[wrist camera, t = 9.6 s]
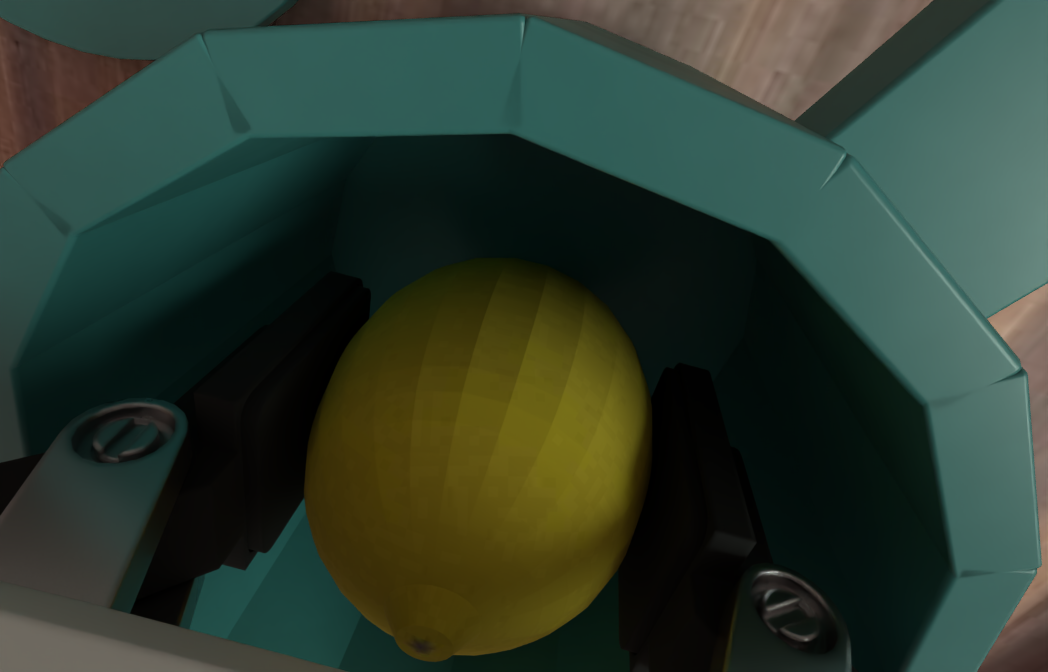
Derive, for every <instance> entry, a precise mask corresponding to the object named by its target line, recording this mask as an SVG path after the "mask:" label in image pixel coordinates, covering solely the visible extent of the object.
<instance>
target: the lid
mask: <svg viewBox="0 0 1048 672" xmlns="http://www.w3.org/2000/svg"><path fill="white" fill-rule="evenodd" d="M297 1H298V0H0V17H1V18H3V19H4V20H6V21H8V22H10V23H12V24H14V25H16V26H18V27H20V28H23V29H25V30H27V31H29V32H31V33H33V34H35V35H37V36H40V37H42V38H44V39H46V40H49V41H52V42H55V43H58V44H61V45H64V46H67V47H70V48H73V49H76V50H79V51H82V52H85V53H91V54H96V55H101V56H106V57H112V58H117V59H130V60H157V59H158V58H160V57H161V56H163V55H164V54H166V53H167V52H169V51H170V50H172V49H173V48H175V47H176V46H177V45H179V44H180V43H182V42H183V41H185V40H186V39H188V38H189V37H191V36H192V35H194V34H195V33H204V32H205V31H207V30H208V29H224V28H244V27H263V26H268V25H270V24H271V23H272V22H273V21H275V20H276V19H277V18H279V17H280V16H281V15H282V14H284V13H285V12H286V11H288V10H289V9H290V8H292V7H293V6H294V5H295V3H296V2H297Z"/></svg>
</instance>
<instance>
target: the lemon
mask: <svg viewBox="0 0 1048 672" xmlns="http://www.w3.org/2000/svg"><path fill="white" fill-rule="evenodd" d="M652 457H653V450H652V404H651V397H650V393H649V389H648V385H647V382H646V379H645V376H644V373H643V370H642V367H641V364H640V361H639V358H638V355H637V352H636V350H635V347H634V345H633V343H632V341H631V339H630V338H629V336H628V335H627V334H626V332H625V331H624V329H623V328H622V326H621V325H620V323H619V322H618V320H617V319H616V317H615V316H614V315H613V313H612V312H611V310H610V309H609V307H608V306H607V305H606V304H605V303H604V302H602V301H601V300H600V299H599V298H598V297H597V296H595V295H594V294H593V293H592V292H591V291H590V290H588V289H587V288H586V287H585V286H584V285H583V284H582V283H580V282H579V281H577V280H575V279H573V278H571V277H569V276H567V275H565V274H563V273H561V272H559V271H557V270H555V269H553V268H551V267H549V266H547V265H543V264H539V263H534V262H530V261H526V260H522V259H518V258H474V259H470V260H466V261H463V262H459V263H455V264H451V265H447V266H443V267H441V268H438V269H435V270H434V271H432V272H430V273H428V274H427V275H425V276H423V277H421V278H419V279H418V280H416V281H414V282H412V283H411V284H409V285H407V286H405V287H404V288H402V289H401V290H399V291H398V292H396V293H395V294H394V295H392V296H391V297H390V298H389V299H388V300H387V301H386V302H385V303H384V304H383V305H382V306H381V307H380V308H379V309H378V310H377V311H376V312H375V313H374V314H373V315H372V316H371V318H370V319H369V320H368V321H367V322H366V323H365V324H364V325H363V326H362V327H361V328H360V329H359V331H358V332H357V333H356V334H355V335H354V336H353V338H352V339H351V341H350V342H349V344H348V345H347V346H346V348H345V350H344V352H343V353H342V355H341V357H340V359H339V361H338V363H337V365H336V367H335V370H334V372H333V374H332V376H331V379H330V381H329V383H328V385H327V388H326V390H325V392H324V394H323V397H322V399H321V401H320V404H319V406H318V409H317V412H316V415H315V418H314V421H313V424H312V428H311V432H310V436H309V440H308V447H307V457H306V469H305V483H304V498H305V507H306V514H307V518H308V522H309V525H310V529H311V533H312V537H313V540H314V543H315V546H316V548H317V551H318V554H319V556H320V558H321V560H322V561H323V563H324V565H325V566H326V568H327V570H328V571H329V573H330V575H331V576H332V578H333V580H334V581H335V583H336V585H337V586H338V588H339V590H340V591H341V593H342V594H343V595H344V596H345V597H346V598H347V599H348V600H349V601H350V602H351V603H352V604H353V605H354V606H355V607H356V608H357V609H358V610H359V611H360V612H361V613H362V614H363V615H364V616H365V618H366V619H367V620H369V621H370V622H372V623H373V624H374V625H376V626H377V627H378V628H380V629H381V630H383V631H384V632H385V633H387V634H389V635H391V636H393V637H394V638H395V641H396V643H397V645H398V646H399V647H400V649H401V650H402V651H404V652H405V653H406V654H408V655H410V656H412V657H414V658H416V659H419V660H423V661H428V662H437V661H443V660H446V659H448V658H449V657H451V656H452V655H473V656H475V655H482V654H490V653H497V652H501V651H506V650H511V649H514V648H517V647H519V646H522V645H525V644H528V643H531V642H534V641H536V640H538V639H540V638H542V637H544V636H547V635H549V634H551V633H552V632H554V631H555V630H557V629H558V628H560V627H561V626H563V625H564V624H566V623H567V622H569V621H570V620H572V619H573V618H574V617H576V616H577V615H578V614H580V613H581V612H582V611H583V610H585V609H586V608H587V607H588V606H589V605H590V604H591V602H592V601H593V600H594V599H595V598H596V596H597V595H598V594H599V593H600V591H601V590H602V589H603V588H604V586H605V585H606V584H607V583H608V582H609V580H610V579H611V578H612V577H613V575H614V574H615V573H616V572H617V570H618V568H619V566H620V564H621V562H622V561H623V559H624V557H625V555H626V553H627V550H628V548H629V545H630V542H631V540H632V537H633V534H634V531H635V528H636V526H637V523H638V520H639V517H640V514H641V511H642V508H643V505H644V502H645V498H646V494H647V491H648V486H649V481H650V476H651V468H652Z"/></svg>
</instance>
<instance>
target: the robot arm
mask: <svg viewBox="0 0 1048 672" xmlns="http://www.w3.org/2000/svg"><path fill="white" fill-rule="evenodd" d="M370 302H371V291H370V289H369V288H365V287H363V282H362V280H361V279H360V278H356V277H353V276H349V275H345V274H341V273H337V272H334V271H330V272H329V273H327V274H326V275H325V276H324V277H323V278H322V279H321V280H319V281H318V282H317V283H316V284H315V285H314V286H313V287H312V288H310V289H309V290H308V291H307V292H306V293H305V294H304V295H303V296H301V297H300V298H299V299H298V300H297V301H296V302H295V303H293V304H292V305H291V306H290V307H289V308H288V309H287V310H286V311H284V312H283V313H282V314H281V315H280V316H279V317H278V318H277V319H275V320H274V321H273V322H272V323H271V324H270V325H264V326H263V327H261V328H259V329H258V330H257V331H256V332H255V333H254V334H252V335H251V336H250V337H249V338H248V339H247V340H246V341H244V342H243V343H242V344H241V345H240V346H239V347H238V348H236V349H235V350H234V351H233V352H232V353H231V354H230V355H228V356H227V357H226V358H225V359H224V360H223V361H222V362H220V363H219V364H218V365H217V366H216V367H215V368H214V369H212V370H211V371H210V372H209V373H208V374H207V375H206V376H204V377H203V378H202V379H201V380H200V381H199V382H197V383H196V384H195V385H194V386H193V387H192V388H191V389H189V390H188V391H187V392H186V393H185V394H184V395H183V396H181V397H180V398H179V399H178V400H177V401H176V402H175V403H173V404H171V403H169V402H166V401H163V400H159V399H151V398H127V399H122V400H117V401H112V402H107V403H104V404H102V405H99V406H96V407H94V408H91V409H89V410H87V411H85V412H84V413H82V414H80V415H79V416H77V417H75V418H74V419H72V420H71V421H70V422H69V423H68V424H67V425H66V426H65V427H64V428H63V429H62V430H61V432H60V433H59V434H58V436H57V437H56V439H55V440H54V441H53V443H52V444H51V446H50V447H49V448H48V450H47V451H46V452H45V453H41V454H36V455H32V456H28V457H23V458H19V459H14V460H10V461H5V462H1V463H0V672H347V671H344V670H340V669H336V668H333V667H329V666H325V665H321V664H318V663H314V662H310V661H307V660H303V659H299V658H295V657H292V656H288V655H284V654H281V653H277V652H273V651H269V650H265V649H262V648H258V647H254V646H250V645H247V644H243V643H239V642H235V641H231V640H228V639H224V638H220V637H216V636H213V635H209V634H205V633H201V632H197V631H194V630H190V629H189V628H190V625H191V622H192V618H193V615H194V612H195V609H196V606H197V602H198V599H199V596H200V593H201V589H202V586H203V583H204V580H205V574H207V573H210V572H212V571H215V570H217V569H219V568H220V567H221V565H226V566H229V567H233V568H237V569H240V570H244V571H245V570H246V569H247V567H248V566H249V564H250V563H251V561H252V560H253V558H254V557H255V555H256V554H257V552H261V553H267V552H268V551H269V550H270V549H271V548H272V547H273V545H274V544H275V542H276V541H277V539H278V537H279V536H280V534H281V533H282V531H283V530H284V528H285V527H286V525H287V523H288V522H289V520H290V519H291V517H292V516H293V514H294V513H295V511H296V510H297V508H298V506H299V505H300V503H301V502H302V500H303V499H304V483H305V469H306V457H307V447H308V440H309V436H310V432H311V428H312V424H313V421H314V418H315V415H316V412H317V409H318V406H319V404H320V401H321V399H322V397H323V394H324V392H325V390H326V388H327V385H328V383H329V381H330V379H331V376H332V374H333V372H334V370H335V367H336V365H337V363H338V361H339V359H340V357H341V355H342V353H343V352H344V350H345V348H346V346H347V345H348V344H349V342H350V341H351V339H352V338H353V336H354V335H355V334H356V333H357V332H358V331H359V329H360V328H361V327H362V326H363V325H364V324H365V323H366V322H367V321H368V320H369V314H370ZM651 404H652V450H653V457H652V468H651V476H650V481H649V486H648V491H647V494H646V498H645V502H644V505H643V508H642V511H641V514H640V517H639V520H638V523H637V526H636V528H635V531H634V534H633V537H632V540H631V542H630V545H629V548H628V550H627V553H626V555H625V557H624V559H623V561H622V562H621V564H620V566H619V568H618V590H619V644H620V648H621V649H623V650H627V651H629V662H630V672H859V671H857V670H856V669H855V668H854V667H853V666H852V665H851V641H850V636H849V632H848V627H847V624H846V622H845V621H844V619H843V617H842V615H841V613H840V611H839V609H838V608H837V607H836V605H835V604H834V603H833V602H832V600H831V599H830V598H829V596H828V595H827V594H826V593H825V592H824V591H822V590H821V589H820V588H819V587H818V586H817V585H816V584H815V583H814V582H813V581H811V580H809V579H808V578H806V577H805V576H803V575H802V574H800V573H799V572H797V571H795V570H792V569H790V568H787V567H785V566H782V565H779V564H773V560H772V557H771V553H770V550H769V547H768V543H767V540H766V536H765V533H764V530H763V526H762V523H761V519H760V516H759V513H758V509H757V506H756V503H755V499H754V496H753V492H752V489H751V486H750V482H749V479H748V475H747V472H746V469H745V465H744V462H743V459H742V456H741V454H740V451H739V450H738V449H736V448H735V447H731V446H730V443H729V440H728V436H727V432H726V429H725V425H724V422H723V418H722V414H721V411H720V407H719V403H718V400H717V396H716V392H715V389H714V385H713V382H712V378H711V374H710V372H709V371H708V370H705V369H702V368H698V367H694V366H690V365H687V364H683V363H678V364H677V365H676V366H675V367H674V369H672V368H668V367H666V368H665V369H664V370H663V372H662V374H661V377H660V379H659V381H658V384H657V386H656V388H655V391H654V393H653V395H652V398H651Z"/></svg>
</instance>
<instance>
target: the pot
mask: <svg viewBox="0 0 1048 672" xmlns="http://www.w3.org/2000/svg"><path fill="white" fill-rule="evenodd" d="M3 166H4V167H2V168H1V169H0V463H1V462H5V461H10V460H14V459H19V458H23V457H28V456H32V455H36V454H41V453H45V452H46V451H47V450H48V448H49V447H50V446H51V444H52V443H53V441H54V440H55V439H56V437H57V436H58V434H59V433H60V432H61V430H62V429H63V428H64V427H65V426H66V425H67V424H68V423H69V422H70V421H71V420H72V419H74V418H75V417H77V416H79V415H80V414H82V413H84V412H85V411H87V410H89V409H91V408H94V407H96V406H99V405H102V404H104V403H107V402H112V401H117V400H122V399H127V398H151V399H159V400H163V401H166V402H169V403H171V404H173V403H175V402H176V401H177V400H178V399H179V398H180V397H181V396H183V395H184V394H185V393H186V392H187V391H188V390H189V389H191V388H192V387H193V386H194V385H195V384H196V383H197V382H199V381H200V380H201V379H202V378H203V377H204V376H206V375H207V374H208V373H209V372H210V371H211V370H212V369H214V368H215V367H216V366H217V365H218V364H219V363H220V362H222V361H223V360H224V359H225V358H226V357H227V356H228V355H230V354H231V353H232V352H233V351H234V350H235V349H236V348H238V347H239V346H240V345H241V344H242V343H243V342H244V341H246V340H247V339H248V338H249V337H250V336H251V335H252V334H254V333H255V332H256V331H257V330H258V329H259V328H261V327H263V326H264V325H270V324H271V323H272V322H273V321H274V320H275V319H277V318H278V317H279V316H280V315H281V314H282V313H283V312H284V311H286V310H287V309H288V308H289V307H290V306H291V305H292V304H293V303H295V302H296V301H297V300H298V299H299V298H300V297H301V296H303V295H304V294H305V293H306V292H307V291H308V290H309V289H310V288H312V287H313V286H314V285H315V284H316V283H317V282H318V281H319V280H321V279H322V278H323V277H324V276H325V275H326V274H327V273H329V272H330V271H334V272H337V273H341V274H345V275H349V276H353V277H356V278H360V279H361V280H362V282H363V287H365V288H369V289H370V291H371V302H370V314H369V319H370V318H371V316H372V315H373V314H374V313H375V312H376V311H377V310H378V309H379V308H380V307H381V306H382V305H383V304H384V303H385V302H386V301H387V300H388V299H389V298H390V297H391V296H392V295H394V294H395V293H396V292H398V291H399V290H401V289H402V288H404V287H405V286H407V285H409V284H411V283H412V282H414V281H416V280H418V279H419V278H421V277H423V276H425V275H427V274H428V273H430V272H432V271H434V270H435V269H438V268H441V267H443V266H447V265H451V264H455V263H459V262H463V261H466V260H470V259H474V258H518V259H522V260H526V261H530V262H534V263H539V264H543V265H547V266H549V267H551V268H553V269H555V270H557V271H559V272H561V273H563V274H565V275H567V276H569V277H571V278H573V279H575V280H577V281H579V282H580V283H582V284H583V285H584V286H585V287H586V288H587V289H588V290H590V291H591V292H592V293H593V294H594V295H595V296H597V297H598V298H599V299H600V300H601V301H602V302H604V303H605V304H606V305H607V306H608V307H609V309H610V310H611V312H612V313H613V315H614V316H615V317H616V319H617V320H618V322H619V323H620V325H621V326H622V328H623V329H624V331H625V332H626V334H627V335H628V336H629V338H630V339H631V341H632V343H633V345H634V347H635V350H636V352H637V355H638V358H639V361H640V364H641V367H642V370H643V373H644V376H645V379H646V382H647V385H648V389H649V393H650V397H651V398H652V395H653V393H654V391H655V388H656V386H657V384H658V381H659V379H660V377H661V374H662V372H663V370H664V369H665V368H666V367H668V368H672V369H674V367H675V366H676V365H677V364H678V363H683V364H687V365H690V366H694V367H698V368H702V369H705V370H708V371H709V372H710V374H711V378H712V382H713V385H714V389H715V392H716V396H717V400H718V403H719V407H720V411H721V414H722V418H723V422H724V425H725V429H726V432H727V436H728V440H729V443H730V446H731V447H735V448H736V449H738V450H739V451H740V454H741V456H742V459H743V462H744V465H745V469H746V472H747V475H748V479H749V482H750V486H751V489H752V492H753V496H754V499H755V503H756V506H757V509H758V513H759V516H760V519H761V523H762V526H763V530H764V533H765V536H766V540H767V543H768V547H769V550H770V553H771V557H772V560H773V564H779V565H782V566H785V567H787V568H790V569H792V570H795V571H797V572H799V573H800V574H802V575H803V576H805V577H806V578H808V579H809V580H811V581H813V582H814V583H815V584H816V585H817V586H818V587H819V588H820V589H821V590H822V591H824V592H825V593H826V594H827V595H828V596H829V598H830V599H831V600H832V602H833V603H834V604H835V605H836V607H837V608H838V609H839V611H840V613H841V615H842V617H843V619H844V621H845V622H846V624H847V627H848V632H849V636H850V641H851V665H852V666H853V667H854V668H855V669H856V670H857V671H859V672H977V670H978V669H979V667H980V665H981V664H982V662H983V661H984V659H985V657H986V656H987V654H988V652H989V651H990V649H991V647H992V646H993V644H994V643H995V641H996V639H997V638H998V636H999V634H1000V633H1001V631H1002V629H1003V628H1004V626H1005V625H1006V623H1007V621H1008V620H1009V618H1010V616H1011V615H1012V613H1013V611H1014V610H1015V608H1016V607H1017V605H1018V603H1019V602H1020V600H1021V598H1022V597H1023V595H1024V593H1025V592H1026V590H1027V589H1028V587H1029V585H1030V584H1031V582H1032V580H1033V579H1034V577H1035V575H1036V574H1037V568H1039V567H1041V565H1042V561H1041V547H1040V534H1039V521H1038V507H1037V494H1036V480H1035V467H1034V454H1033V440H1032V427H1031V413H1030V400H1029V386H1028V375H1027V372H1026V371H1025V370H1024V369H1023V368H1022V367H1021V363H1020V359H1019V358H1018V357H1017V356H1016V355H1015V353H1014V352H1013V351H1012V350H1011V348H1010V347H1009V346H1008V345H1007V343H1006V342H1005V341H1004V340H1003V339H1002V337H1001V336H1000V335H999V334H998V332H997V331H996V330H995V329H994V327H993V326H992V325H991V324H990V323H989V321H988V320H987V318H989V317H991V316H992V315H994V314H996V313H997V312H999V311H1001V310H1002V309H1004V308H1006V307H1008V306H1009V305H1011V304H1013V303H1014V302H1016V301H1018V300H1020V299H1021V298H1023V297H1025V296H1026V295H1028V294H1030V293H1031V292H1033V291H1035V290H1037V289H1038V288H1040V287H1042V286H1043V285H1045V284H1047V283H1048V0H934V1H932V2H931V3H930V4H929V5H928V6H927V7H925V8H924V9H923V10H922V11H921V12H920V13H918V14H917V15H916V16H915V17H914V18H913V19H912V20H910V21H909V22H908V23H907V24H906V25H905V26H903V27H902V28H901V29H900V30H899V31H898V32H897V33H895V34H894V35H893V36H892V37H891V38H890V39H888V40H887V41H886V42H885V43H884V44H883V45H882V46H880V47H879V48H878V49H877V50H876V51H875V52H873V53H872V54H871V55H870V56H869V57H868V58H867V59H865V60H864V61H863V62H862V63H861V64H860V65H858V66H857V67H856V68H855V69H854V70H853V71H852V72H850V73H849V74H848V75H847V76H846V77H845V78H843V79H842V80H841V81H840V82H839V83H838V84H837V85H835V86H834V87H833V88H832V89H831V90H830V91H828V92H827V93H826V94H825V95H824V96H823V97H822V98H820V99H819V100H818V101H817V102H816V103H815V104H813V105H812V106H811V107H810V108H809V109H808V110H807V111H805V112H804V113H803V114H802V115H801V116H800V117H798V118H797V119H796V120H795V121H793V120H791V119H789V118H787V117H785V116H784V115H782V114H780V113H778V112H776V111H774V110H772V109H770V108H768V107H767V106H765V105H763V104H761V103H759V102H757V101H755V100H753V99H751V98H750V97H748V96H746V95H744V94H742V93H740V92H738V91H736V90H734V89H732V88H731V87H729V86H727V85H725V84H723V83H721V82H719V81H717V80H715V79H714V78H712V77H710V76H708V75H706V74H704V73H702V72H700V71H698V70H697V69H695V68H693V67H691V66H688V65H686V64H684V63H681V62H679V61H677V60H674V59H672V58H670V57H667V56H665V55H663V54H660V53H658V52H656V51H653V50H651V49H649V48H646V47H644V46H642V45H640V44H637V43H635V42H632V41H630V40H627V39H625V38H623V37H620V36H618V35H616V34H613V33H611V32H609V31H606V30H604V29H602V28H599V27H597V26H595V25H592V24H590V23H588V22H582V21H576V20H568V19H561V18H553V17H545V16H537V15H529V14H521V13H514V14H495V15H476V16H456V17H437V18H418V19H398V20H379V21H360V22H340V23H321V24H302V25H282V26H263V27H244V28H224V29H208V30H207V31H205V32H204V33H195V34H194V35H192V36H191V37H189V38H188V39H186V40H185V41H183V42H182V43H180V44H179V45H177V46H176V47H175V48H173V49H172V50H170V51H169V52H167V53H166V54H164V55H163V56H161V57H160V58H158V59H157V60H155V61H154V62H152V63H151V64H149V65H148V66H146V67H145V68H143V69H142V70H140V71H139V72H137V73H136V74H134V75H133V76H131V77H130V78H128V79H127V80H125V81H124V82H122V83H121V84H120V85H118V86H117V87H115V88H114V89H112V90H111V91H109V92H108V93H106V94H105V95H103V96H102V97H100V98H99V99H97V100H96V101H94V102H93V103H91V104H90V105H88V106H87V107H85V108H84V109H82V110H81V111H79V112H78V113H76V114H75V115H73V116H72V117H70V118H69V119H67V120H66V121H65V122H63V123H62V124H60V125H59V126H57V127H56V128H54V129H53V130H51V131H50V132H48V133H47V134H45V135H44V136H42V137H41V138H39V139H38V140H36V141H35V142H33V143H32V144H30V145H29V146H27V147H26V148H24V149H23V150H21V151H20V152H18V153H17V154H15V155H14V156H12V157H11V158H10V159H8V160H7V161H5V162H4V164H3ZM189 629H190V630H194V631H197V632H201V633H205V634H209V635H213V636H216V637H220V638H224V639H228V640H231V641H235V642H239V643H243V644H247V645H250V646H254V647H258V648H262V649H265V650H269V651H273V652H277V653H281V654H284V655H288V656H292V657H295V658H299V659H303V660H307V661H310V662H314V663H318V664H321V665H325V666H329V667H333V668H336V669H340V670H344V671H347V672H630V662H629V651H627V650H623V649H621V648H620V644H619V590H618V570H617V572H616V573H615V574H614V575H613V577H612V578H611V579H610V580H609V582H608V583H607V584H606V585H605V586H604V588H603V589H602V590H601V591H600V593H599V594H598V595H597V596H596V598H595V599H594V600H593V601H592V602H591V604H590V605H589V606H588V607H587V608H586V609H585V610H583V611H582V612H581V613H580V614H578V615H577V616H576V617H574V618H573V619H572V620H570V621H569V622H567V623H566V624H564V625H563V626H561V627H560V628H558V629H557V630H555V631H554V632H552V633H551V634H549V635H547V636H544V637H542V638H540V639H538V640H536V641H534V642H531V643H528V644H525V645H522V646H519V647H517V648H514V649H511V650H506V651H501V652H497V653H490V654H482V655H475V656H473V655H452V656H451V657H449V658H448V659H446V660H443V661H437V662H428V661H423V660H419V659H416V658H414V657H412V656H410V655H408V654H406V653H405V652H404V651H402V650H401V649H400V647H399V646H398V645H397V643H396V641H395V638H394V637H393V636H391V635H389V634H387V633H385V632H384V631H383V630H381V629H380V628H378V627H377V626H376V625H374V624H373V623H372V622H370V621H369V620H367V619H366V618H365V616H364V615H363V614H362V613H361V612H360V611H359V610H358V609H357V608H356V607H355V606H354V605H353V604H352V603H351V602H350V601H349V600H348V599H347V598H346V597H345V596H344V595H343V594H342V593H341V591H340V590H339V588H338V586H337V585H336V583H335V581H334V580H333V578H332V576H331V575H330V573H329V571H328V570H327V568H326V566H325V565H324V563H323V561H322V560H321V558H320V556H319V554H318V551H317V548H316V546H315V543H314V540H313V537H312V533H311V529H310V525H309V522H308V518H307V514H306V507H305V498H304V499H303V500H302V502H301V503H300V505H299V506H298V508H297V510H296V511H295V513H294V514H293V516H292V517H291V519H290V520H289V522H288V523H287V525H286V527H285V528H284V530H283V531H282V533H281V534H280V536H279V537H278V539H277V541H276V542H275V544H274V545H273V547H272V548H271V549H270V550H269V551H268V552H267V553H261V552H257V554H256V555H255V557H254V558H253V560H252V561H251V563H250V564H249V566H248V567H247V569H246V570H245V571H244V570H240V569H237V568H233V567H229V566H226V565H221V567H220V568H219V569H217V570H215V571H212V572H210V573H207V574H205V580H204V583H203V586H202V589H201V593H200V596H199V599H198V602H197V606H196V609H195V612H194V615H193V618H192V622H191V625H190V628H189Z"/></svg>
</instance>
